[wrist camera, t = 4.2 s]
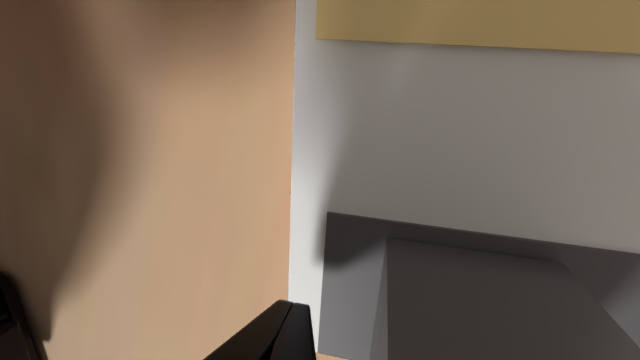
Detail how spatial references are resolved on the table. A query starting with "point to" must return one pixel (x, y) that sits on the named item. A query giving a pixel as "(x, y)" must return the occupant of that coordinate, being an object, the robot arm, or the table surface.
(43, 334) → the table surface
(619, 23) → the board
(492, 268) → the block
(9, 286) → the robot arm
